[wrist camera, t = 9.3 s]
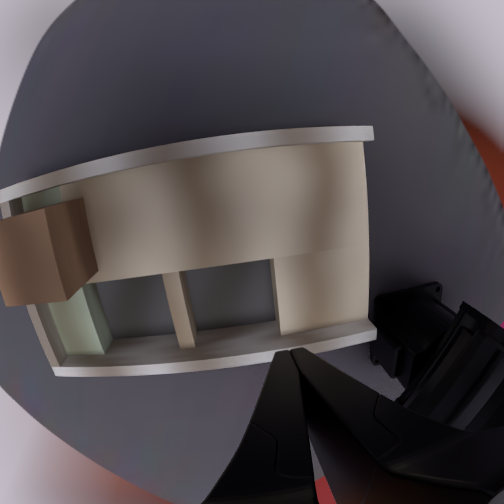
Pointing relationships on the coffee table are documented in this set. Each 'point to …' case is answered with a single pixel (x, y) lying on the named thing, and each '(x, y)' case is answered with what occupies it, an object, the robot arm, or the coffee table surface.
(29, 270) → the walnut block
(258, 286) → the grey slotted tray
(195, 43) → the coffee table surface
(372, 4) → the coffee table surface
